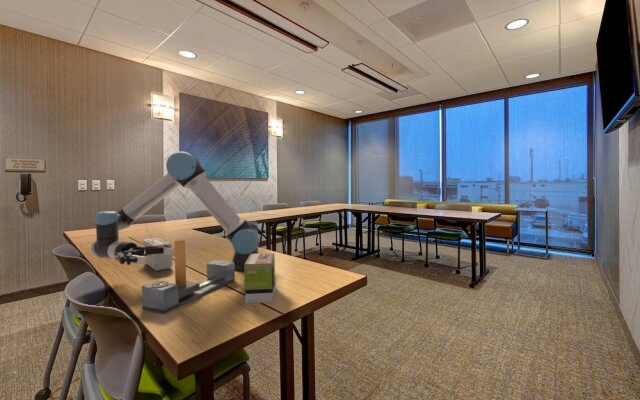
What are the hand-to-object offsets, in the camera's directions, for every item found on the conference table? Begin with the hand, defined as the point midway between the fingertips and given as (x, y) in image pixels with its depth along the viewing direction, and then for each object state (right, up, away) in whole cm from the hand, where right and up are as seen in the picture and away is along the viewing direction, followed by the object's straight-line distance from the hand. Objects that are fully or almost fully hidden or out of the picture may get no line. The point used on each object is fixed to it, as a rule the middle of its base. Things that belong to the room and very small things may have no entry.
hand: (161, 256), depth 112 cm
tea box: (+38, -15, +1) cm, 41 cm away
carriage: (+9, -13, -3) cm, 16 cm away
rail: (+11, -15, +3) cm, 19 cm away
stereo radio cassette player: (-23, -13, +39) cm, 47 cm away
